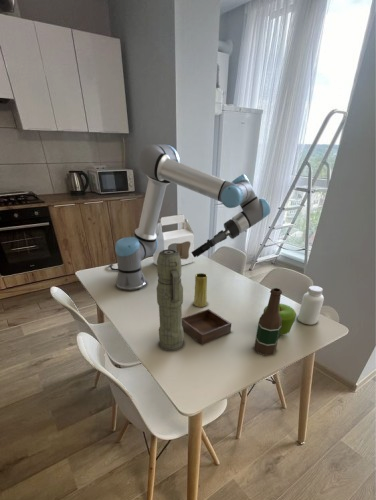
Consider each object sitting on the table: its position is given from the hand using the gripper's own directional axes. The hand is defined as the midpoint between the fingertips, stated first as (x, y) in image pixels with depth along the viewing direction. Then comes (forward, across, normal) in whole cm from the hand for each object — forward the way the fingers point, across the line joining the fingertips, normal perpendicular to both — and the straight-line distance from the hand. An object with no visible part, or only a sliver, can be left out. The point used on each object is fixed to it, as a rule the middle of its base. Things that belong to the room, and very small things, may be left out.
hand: (193, 254), depth 124 cm
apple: (-10, -18, -43) cm, 48 cm away
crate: (+13, -16, -27) cm, 34 cm away
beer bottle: (-1, -29, -42) cm, 51 cm away
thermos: (+27, -24, -22) cm, 42 cm away
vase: (+9, +6, -21) cm, 23 cm away
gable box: (+9, +58, +1) cm, 59 cm away
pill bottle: (-25, -10, -50) cm, 57 cm away
